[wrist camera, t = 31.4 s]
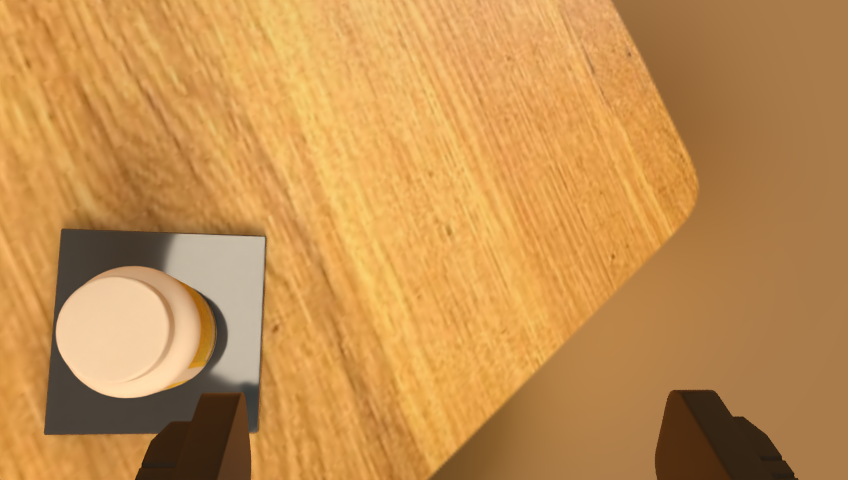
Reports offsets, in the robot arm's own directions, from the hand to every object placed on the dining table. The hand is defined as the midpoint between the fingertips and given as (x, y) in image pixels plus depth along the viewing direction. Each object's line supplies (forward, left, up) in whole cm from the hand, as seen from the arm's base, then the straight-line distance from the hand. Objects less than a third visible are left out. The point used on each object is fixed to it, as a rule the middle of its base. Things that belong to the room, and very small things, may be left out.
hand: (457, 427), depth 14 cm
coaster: (+10, -2, -25) cm, 27 cm away
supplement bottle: (+10, -2, -25) cm, 27 cm away
